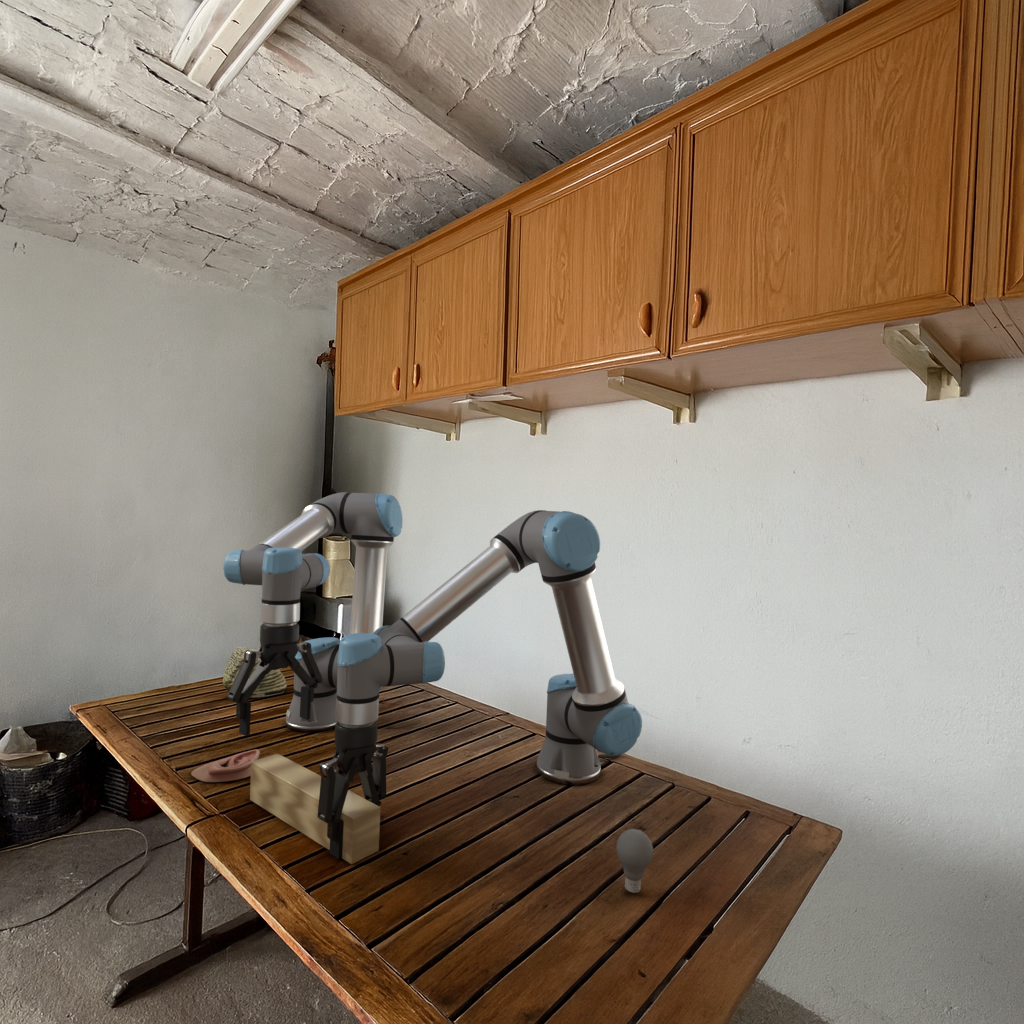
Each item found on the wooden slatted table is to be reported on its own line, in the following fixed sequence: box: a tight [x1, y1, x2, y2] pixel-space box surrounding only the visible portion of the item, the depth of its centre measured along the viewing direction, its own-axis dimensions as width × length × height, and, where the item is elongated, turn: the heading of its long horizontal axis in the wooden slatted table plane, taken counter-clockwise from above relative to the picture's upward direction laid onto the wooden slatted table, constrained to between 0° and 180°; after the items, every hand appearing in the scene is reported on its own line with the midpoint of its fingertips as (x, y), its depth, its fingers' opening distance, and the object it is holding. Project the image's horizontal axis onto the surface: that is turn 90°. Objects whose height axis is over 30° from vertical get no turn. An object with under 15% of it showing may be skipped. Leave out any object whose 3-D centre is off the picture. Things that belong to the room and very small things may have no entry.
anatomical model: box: [190, 748, 261, 783], centre depth 143 cm, size 13×4×12 cm
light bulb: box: [615, 828, 654, 894], centre depth 106 cm, size 6×6×10 cm
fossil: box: [222, 646, 288, 699], centre depth 198 cm, size 9×18×15 cm, turn 132°
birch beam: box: [249, 753, 381, 865], centre depth 123 cm, size 34×6×8 cm, turn 51°
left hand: (275, 725), depth 130 cm, fingers open, 13 cm apart
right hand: (351, 847), depth 115 cm, fingers closed on birch beam, 6 cm apart
